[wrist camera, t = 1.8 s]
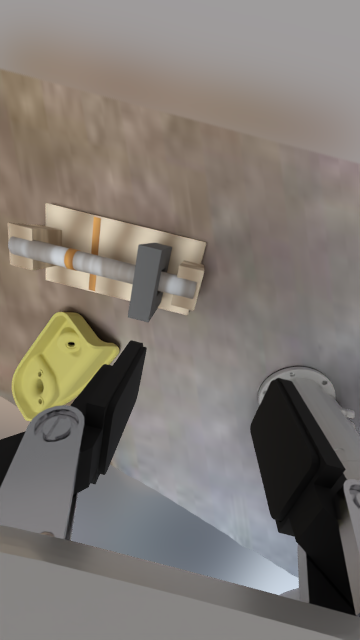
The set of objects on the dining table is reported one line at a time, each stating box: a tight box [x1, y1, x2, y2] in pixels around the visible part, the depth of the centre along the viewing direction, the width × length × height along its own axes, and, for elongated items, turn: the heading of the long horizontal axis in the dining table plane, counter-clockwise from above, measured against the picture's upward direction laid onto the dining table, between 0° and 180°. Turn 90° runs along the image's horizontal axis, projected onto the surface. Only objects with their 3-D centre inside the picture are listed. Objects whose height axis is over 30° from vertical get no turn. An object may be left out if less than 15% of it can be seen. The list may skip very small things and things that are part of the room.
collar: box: [128, 243, 172, 322], centre depth 27 cm, size 2×8×8 cm, turn 167°
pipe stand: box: [8, 203, 206, 315], centre depth 30 cm, size 24×11×8 cm, turn 77°
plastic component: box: [12, 312, 119, 421], centre depth 40 cm, size 20×7×10 cm
